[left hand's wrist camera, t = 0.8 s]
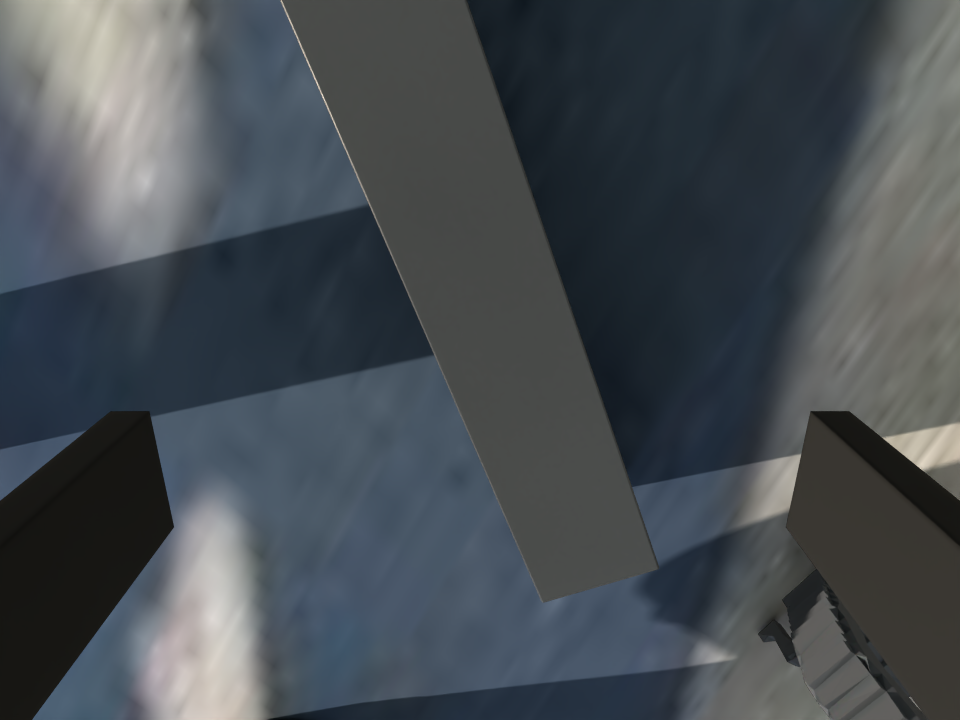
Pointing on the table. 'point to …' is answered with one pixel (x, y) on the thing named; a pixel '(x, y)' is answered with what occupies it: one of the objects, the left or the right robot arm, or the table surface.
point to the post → (479, 275)
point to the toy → (838, 657)
